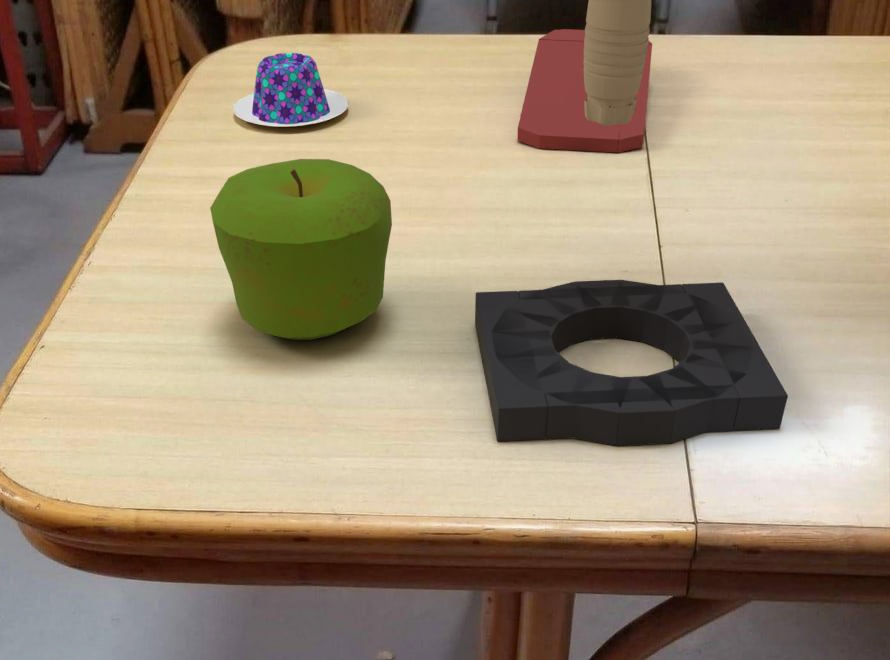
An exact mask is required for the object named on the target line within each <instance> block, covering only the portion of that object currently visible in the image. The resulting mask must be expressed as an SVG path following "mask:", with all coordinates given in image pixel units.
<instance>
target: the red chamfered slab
mask: <svg viewBox="0 0 890 660" xmlns="http://www.w3.org/2000/svg"><path fill="white" fill-rule="evenodd" d="M584 38H585V29H572V28H571V29H569V28H560V29H553V30H551V31H550V32H548V33H547V34H545V35H543V36H541V37H540V38H538V41H537V46H536V48H535V49H536V50H535V52H534V53H535V54H534V58H533V62H532V66H531V70H530V74H529V79H528V82H527V88H526V91H525V95H524V100H523V104H522V107H521V108H522V109H521V112H520V116H519V120H518V125H517V141H518V142H521V143H524V144H526V145H529V146H531V147H534V148H537V149H543V150H544V149H547V150H565V151H580V152H583V151H584V152H598V153H599V152H600V153H601V152H602V153H618V154H619V153H623V152H627V151H632V150H636V149H641V148H643V147H644V138H645V131H646V130H645V129H646V119H647V118H646V117H647V106H648V96H649V86H650V85H649V84H650V76H651V75H650V74H651V64H652V63H651V62H652V54H653V53H652V51H653V43H652V42H651V41H650V40H648V47H647V54H646V58H645V65H644V69H643V75H642V79H641V83H640V87H639V90H638V93H637V94H636V95H635V97H636V98H637V100H636V106H635V110H634V113H633V115H632V118H631V120H630V122H629V123H627V124H614V125H610V126H603V125H601V124H600V123H597V122H592V121H588V120H587V118H586V117H585V109H584V100H587V98H588V94H587V93H586V91H585V84H584V57H585V56H584Z"/></svg>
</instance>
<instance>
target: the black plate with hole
mask: <svg viewBox="0 0 890 660" xmlns="http://www.w3.org/2000/svg"><path fill="white" fill-rule="evenodd" d="M474 297H475V299H474V300H475V305H474V312H475V313H474V325H475V331H476V335H477V340H478V346H479V352H480V358H481V362H482V368H483V373H484V377H485V383H486V389H487V395H488V400H489V405H490V410H491V415H492V420H493V424H494V432H495V436H496V437H495V438H496V441H497V442H511V441H512V442H513V441H515V442H517V441H537V440H562V439H577V440H582V441H587V442H593V443H597V444H598V443H599V444H602V445H608V446H614V447H615V446H616V447H619V446H620V447H622V446H623V447H625V446H642V445H643V446H644V445H663V444H664V445H665V444H667V445H669V444H674V443H676V442H679V441H683V440H686V439H689V438H693V437H696V436H698V435H702V434H704V433H713V432H714V433H715V432H716V433H717V432H732V431H734V432H735V431H737V432H738V431H755V430H756V431H758V430H779V429H781V426H782V422H783V417H784V414H785V409H786V405H787V401H788V398H789V395H788V393H787V391H786V390H785V387H784V386H783V384H782V382H781V381H780V379H779V377H778V375H777V374H776V372H775V370H774V368H773V367H772V365H771V363H770V362H769V360H768V358H767V356H766V354H765V353H764V351H763V350H762V349H763V348H762V347H761V345H760V344H759V342H758V341H757V338H756V336H754V334H753V332H752V330H751V328H750V327H749V325H748V323H747V321H746V319H745V318H744V316H743V314H742V313H741V311H740V310H739V307H738V306H737V304H736V302H735V301H734V298H733V297H732V295H731V293H730V291H729V290H728V287H726V285H725V283H724V282H723V281H721V282H701V283H699V282H698V283H682V284H681V283H678V284H677V283H676V284H673V283H672V284H656V283H655V284H654V283H647V282H641V281H634V280H626V279H600V280H599V279H597V280H576V281H571V282H567V283H563V284H559V285H555V286H550V287H547V288H542V289H528V290H527V289H525V290H524V289H523V290H503V291H502V290H501V291H499V290H498V291H476V292H475V296H474ZM595 339H596V340H598V339H599V340H600V339H622V340H628V341H636V342H641V343H644V344H647V345H649V346H651V347H654V348H656V349H659V350H662V351H664V352H665V353H667V354H668V355H670V356H671V357H672V358H673V359H674V360H675V361H677V362H678V364H676V365H675V366H673V367H672V368H670V369H669V368H668V369H666V370H661V371H658V372H655V373H653V374H649V375H637V376H635V375H633V376H617V375H610V374H604V373H599V372H592V371H590V370H588V369H585V368H583V367H580V366H579V365H576V364H574V363H571V362H570V361H568V360H567V359H566V358H565V357H564V356H563V355H562V354H560V352H562V351H563V350H565V349H566V348H568V347H569V346H570V345H575V344H578V343H582V342H585V341H589V340H595Z"/></svg>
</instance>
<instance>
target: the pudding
mask: <svg viewBox="0 0 890 660" xmlns="http://www.w3.org/2000/svg"><path fill="white" fill-rule="evenodd" d="M254 81H255V82H254V90H253V92H251V93H249V94H247V95H244V96H243V97H241V98H240V99H238V100H237V101H236V102H235V103H234V105H232V108H233V109H232V111H233V114H234V115H235V116H236V117H237V118H239V119H241V120H243V121H245V122H248V123H252V124H256V125H260V126H264V127H265V126H266V127H277V128H278V127H281V128H283V127H284V128H285V127H286V128H288V127H301V126H309V125H315V124H319V123H323V122H327V121H328V120H331V119H333V118H336V117H338V116H340V115H341V114H344V112H346V110H347V109H348V107H349V100H348V99H347V97H345V96H344V95H343V94H341V93H340V92H337V91H335V90H331V89H327V88H324V85H323V82H322V79H321V76H320V72H319V69H318V66H317V63H316V61H315V59H314V58H313V57H312V56H311V55H307V54H306V55H305V54H303V53H301V52H300V53H298V52H291V53H288V52H280V53H276V54H273V55H268V56H265V57H264V58H263V59H262V60H260V62H259V63H258V65H257V68H256V74H255V80H254Z"/></svg>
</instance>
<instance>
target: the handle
mask: <svg viewBox="0 0 890 660" xmlns="http://www.w3.org/2000/svg"><path fill="white" fill-rule="evenodd" d="M651 16H652V0H588V3H587V10H586V17H585V23H586V24H585V27H584V30H585V38H584V56H585V57H584V84H585V91H586V93H587V94H588V98H587V100H584V109H585V117H586V118H587V120H588V121H592V122H597V123H600V124H601V125H603V126H610V125H614V124H627V123H629V122H630V120H631V118H632V115H633V113H634V110H635V106H636V100H637V98H636V97H635V95H636V94H637V93H638V90H639V87H640V83H641V79H642V75H643V69H644V65H645V58H646V54H647V47H648V40H649V36H650V30H651V27H650V25H651ZM649 41H650V40H649Z"/></svg>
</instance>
